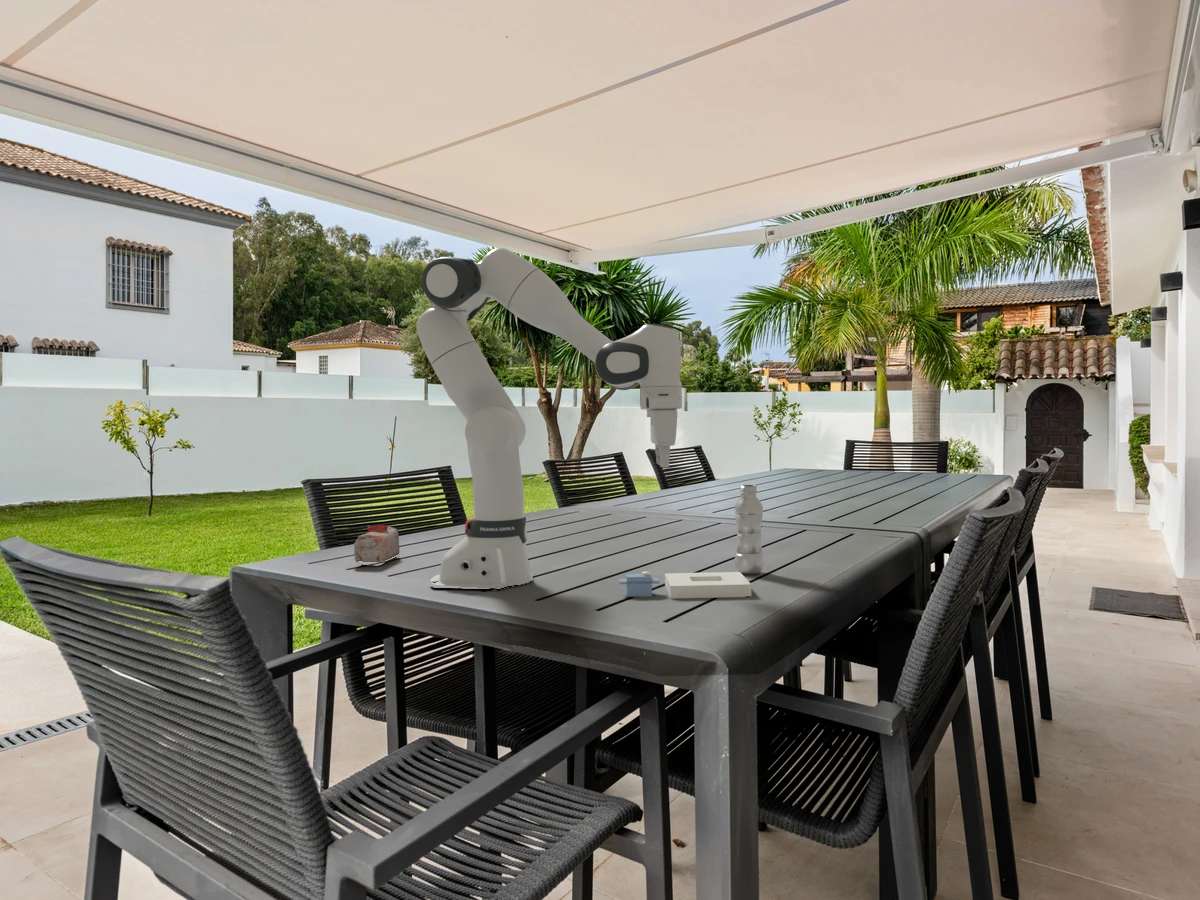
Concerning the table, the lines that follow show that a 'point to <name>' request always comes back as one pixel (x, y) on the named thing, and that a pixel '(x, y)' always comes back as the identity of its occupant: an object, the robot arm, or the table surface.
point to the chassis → (707, 585)
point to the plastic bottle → (749, 531)
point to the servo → (639, 584)
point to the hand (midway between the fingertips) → (662, 465)
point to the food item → (377, 544)
